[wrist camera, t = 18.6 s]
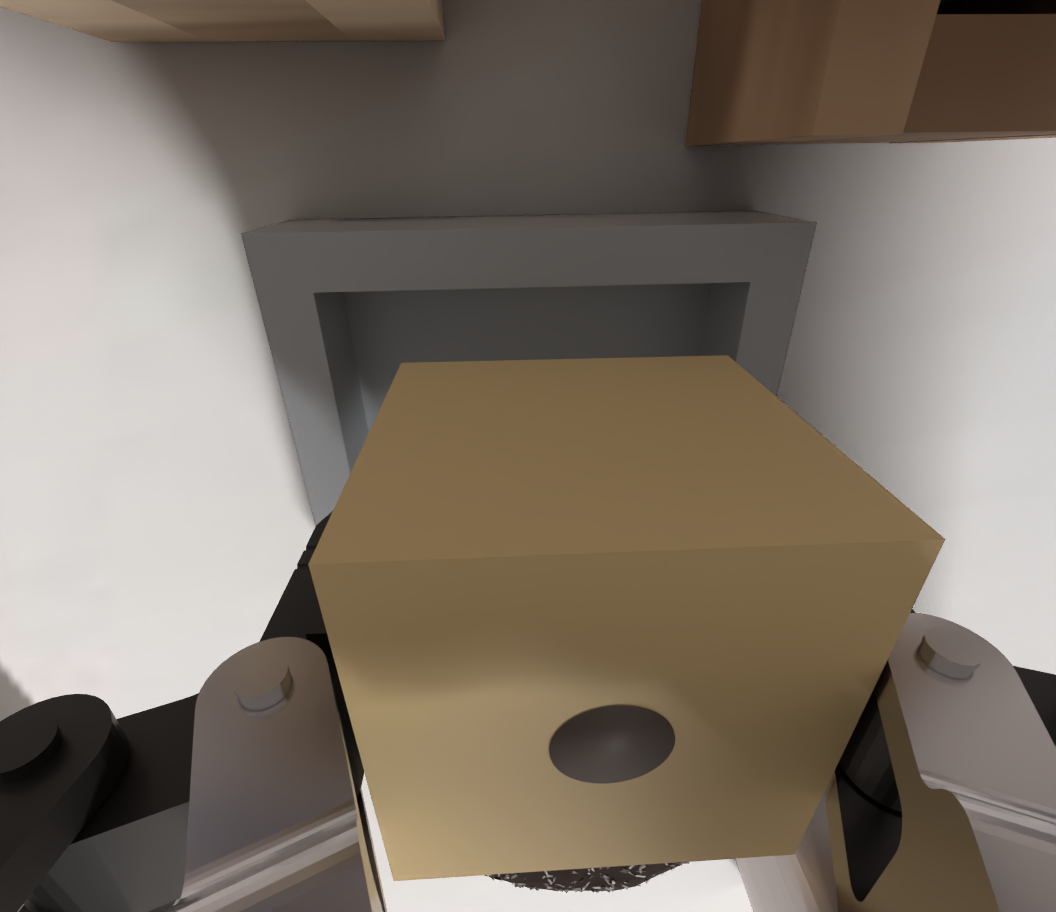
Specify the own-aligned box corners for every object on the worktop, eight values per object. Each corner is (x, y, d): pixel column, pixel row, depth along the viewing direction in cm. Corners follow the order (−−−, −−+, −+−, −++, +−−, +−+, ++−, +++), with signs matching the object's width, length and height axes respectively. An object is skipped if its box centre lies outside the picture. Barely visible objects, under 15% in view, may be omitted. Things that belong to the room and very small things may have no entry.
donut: (676, 804, 24) (707, 915, 20) (407, 791, 22) (390, 910, 18) (776, 627, 18) (842, 735, 15) (433, 593, 17) (418, 706, 13)
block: (683, 595, 12) (795, 856, 7) (432, 606, 11) (394, 882, 7) (727, 355, 9) (945, 540, 5) (401, 362, 9) (307, 565, 4)
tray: (692, 565, 16) (723, 626, 14) (366, 580, 16) (346, 646, 14) (756, 210, 12) (816, 222, 9) (290, 219, 11) (241, 233, 9)
